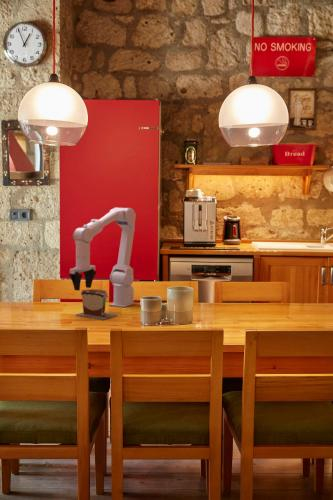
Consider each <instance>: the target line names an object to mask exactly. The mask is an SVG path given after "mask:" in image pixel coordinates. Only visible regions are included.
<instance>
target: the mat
mask: <svg viewBox="0 0 333 500" xmlns="http://www.w3.org/2000/svg"><path fill="white" fill-rule="evenodd" d="M75 316H77V317H81V318H89V319H94V320H101V321H106V320H108V319H109V320H110V319H112V318H114V317H118V316H119V315H118V314H116V313H115V314H114V313H111V312H105V313H104V317H96V316H90V315H84V314H83V312H81V313H77V314H75Z"/></svg>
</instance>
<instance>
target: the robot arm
mask: <svg viewBox="0 0 333 500" xmlns="http://www.w3.org/2000/svg"><path fill="white" fill-rule="evenodd" d="M136 216H137V214H136V212H135V210H134V209H133V208H131V207H115V206H114V208H112V209H110V210H109V212H107V213H106V214H105V215H104V216H102V217H101V218H99V219H97V218H96V219H95V218H93V219H91V220H90V222H88V223H87V224H83V226H82V227H77V228H76V229H74V232H73V234H72V238H73V240H74V244H75V267H73V268H70V269H69V273H68V276H69V277H70V280H71V282H72V285H73V289H74V291H80V289H81V282H82V277H83V275H84V280H85V281H84V282H85V283H84V284H85V288H87V289H90V288H92V284H93V281H94V278H95V276H96V274H97V271H96V265H93V264H90V263H91V259H90V258H91V242H92V241H93V239H94V237H95V236H96V235H98V234H100V233H101V232H102V231H103V229H104V227H105V226H107V225H109V224H110V223H113V222H114V223H116V224H117V226H119V227H120V228H121V237H120V242H119V249H118V250H119V251H118V257H117V263H116V264H115V265H113V267H112V270H111V273H110V275H109V280H110V282H111V283H112V286H113V302H112V303H109V305H110V306H113V307H119V308H120V307H121V308H125V307H128V306H132V305H135V304H136V302H134V301H135V300H134V299H135V297H134V296H135V295H134V294H135V293H134V292H135V291H134V287H133V286H132V284H133V282H134V268H133V267H131V266H130V263H131V256H132V249H133V242H134V241H133V240H134V234H135V228H136V226H135V225H136ZM81 273H83V274H81Z"/></svg>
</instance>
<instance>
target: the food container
mask: <svg viewBox="0 0 333 500" xmlns="http://www.w3.org/2000/svg"><path fill="white" fill-rule="evenodd" d="M80 296H81V297H82V298H81V299H82V300H81V301H82V310H83V311H82V313H83V314H84V315H90V316H96V317H104V313H106V312H105V311H106V302H107V298H109V297H108V293H107V291H106V290H104V289H94V288H93V289H90V288H88V289H82V290H81V292H80Z"/></svg>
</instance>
